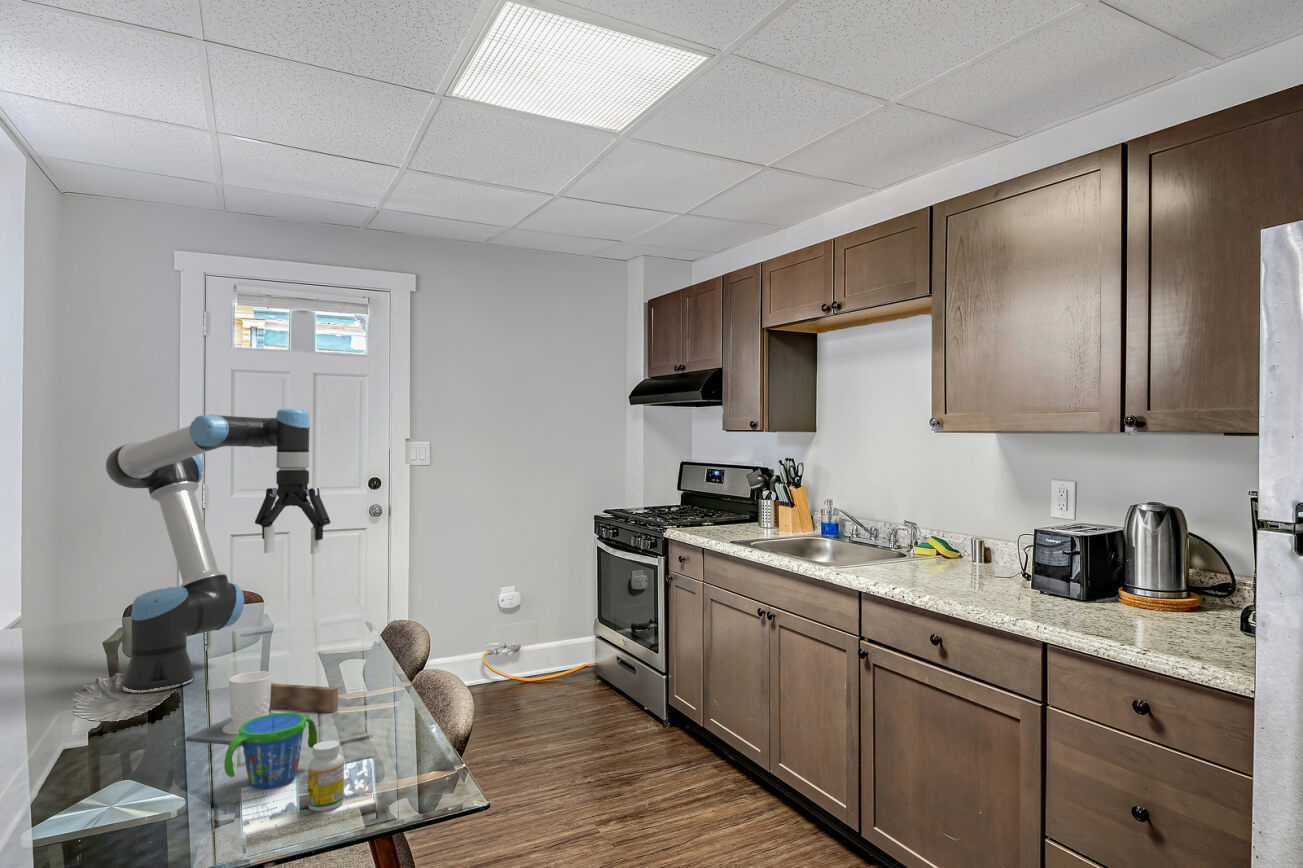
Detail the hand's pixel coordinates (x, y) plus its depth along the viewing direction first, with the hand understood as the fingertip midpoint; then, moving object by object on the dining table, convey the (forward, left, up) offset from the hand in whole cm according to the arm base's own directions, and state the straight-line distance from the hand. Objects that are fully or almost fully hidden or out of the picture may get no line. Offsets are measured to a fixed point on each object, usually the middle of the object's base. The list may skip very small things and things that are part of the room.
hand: (292, 552), depth 188 cm
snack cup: (+37, -51, -33) cm, 71 cm away
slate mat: (+14, -30, -33) cm, 47 cm away
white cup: (+14, -30, -32) cm, 46 cm away
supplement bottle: (+52, -57, -33) cm, 84 cm away
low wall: (+14, -17, -33) cm, 39 cm away
